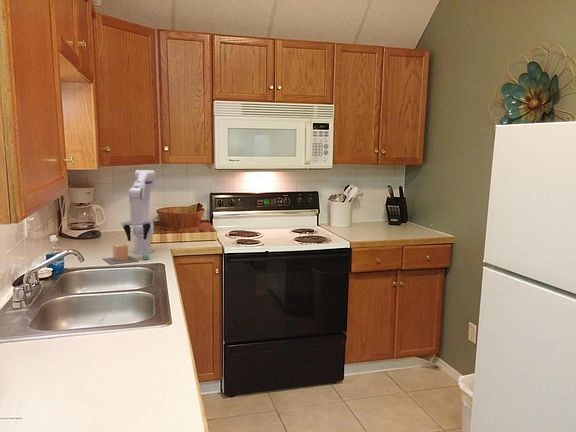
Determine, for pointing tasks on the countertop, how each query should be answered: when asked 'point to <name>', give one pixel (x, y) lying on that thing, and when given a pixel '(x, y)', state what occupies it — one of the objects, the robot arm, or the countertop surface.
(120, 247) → the orange brown block
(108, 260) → the mat
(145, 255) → the ball
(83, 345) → the countertop surface
